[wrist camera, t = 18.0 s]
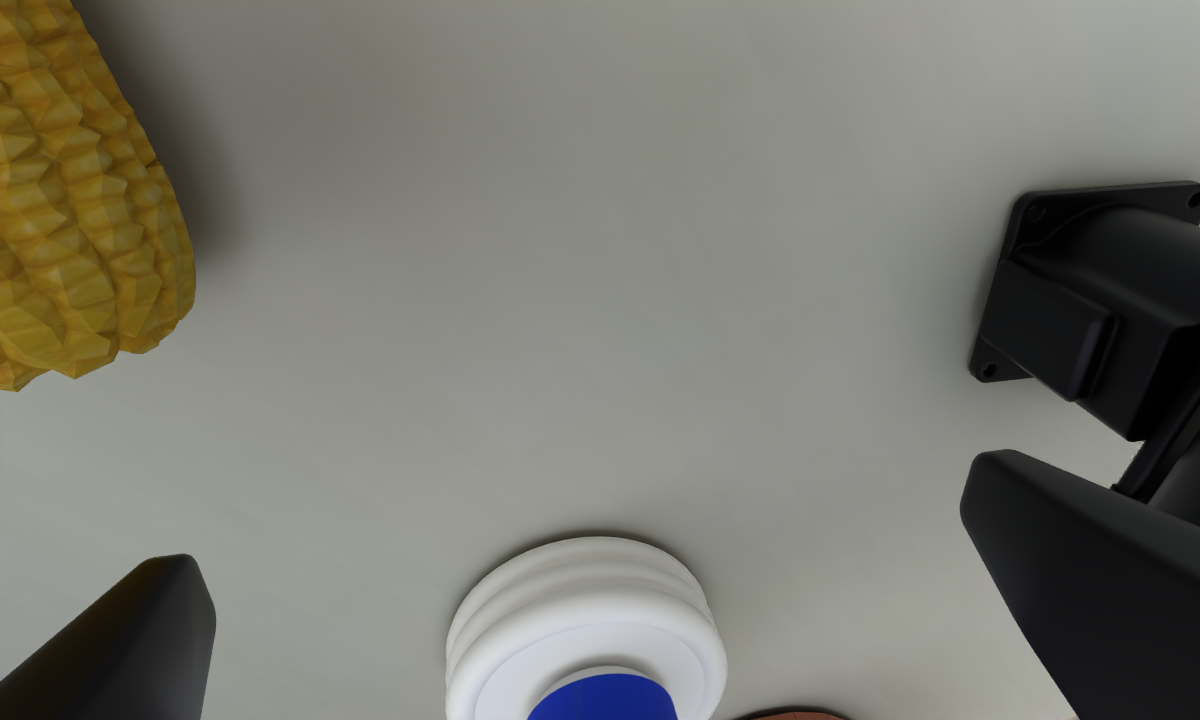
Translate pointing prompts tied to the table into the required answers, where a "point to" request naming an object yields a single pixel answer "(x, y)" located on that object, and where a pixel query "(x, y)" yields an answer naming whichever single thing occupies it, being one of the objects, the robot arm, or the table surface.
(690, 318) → the table surface
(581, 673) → the beverage can
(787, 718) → the bowl
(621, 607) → the coaster
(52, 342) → the food
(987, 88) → the table surface
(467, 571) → the table surface
